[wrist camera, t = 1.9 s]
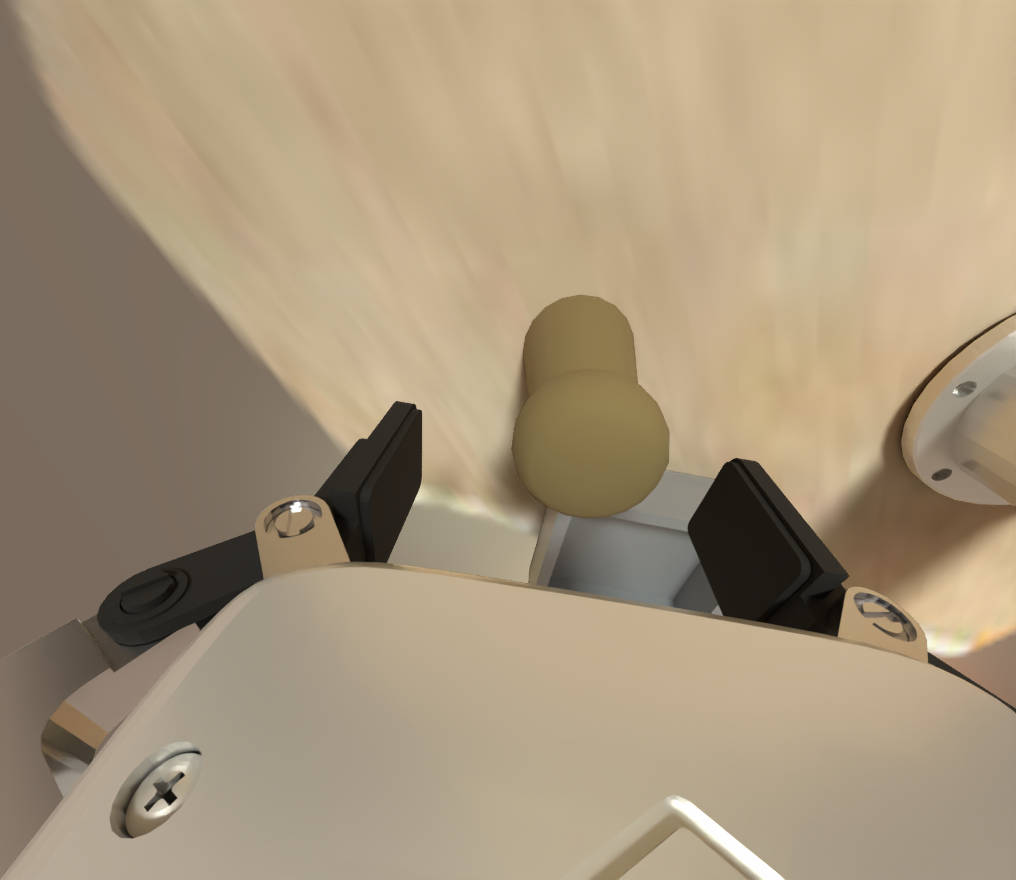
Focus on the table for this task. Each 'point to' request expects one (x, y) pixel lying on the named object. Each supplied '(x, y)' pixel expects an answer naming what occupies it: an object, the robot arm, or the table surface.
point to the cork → (587, 413)
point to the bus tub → (630, 550)
